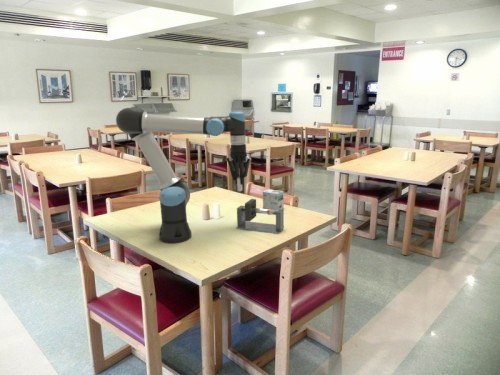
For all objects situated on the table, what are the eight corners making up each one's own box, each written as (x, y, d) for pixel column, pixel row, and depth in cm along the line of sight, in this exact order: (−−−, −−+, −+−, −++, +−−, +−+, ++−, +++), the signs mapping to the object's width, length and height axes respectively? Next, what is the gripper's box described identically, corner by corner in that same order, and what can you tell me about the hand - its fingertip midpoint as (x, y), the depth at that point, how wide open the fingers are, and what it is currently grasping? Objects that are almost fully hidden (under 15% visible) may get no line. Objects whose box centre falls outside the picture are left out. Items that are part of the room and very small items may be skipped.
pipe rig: (235, 228, 188) (234, 208, 185) (243, 222, 197) (242, 203, 194) (279, 233, 179) (279, 213, 177) (284, 227, 188) (285, 207, 186)
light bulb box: (283, 208, 219) (284, 190, 216) (278, 211, 213) (278, 193, 211) (268, 206, 225) (268, 188, 222) (262, 209, 219) (262, 191, 216)
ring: (245, 220, 185) (244, 203, 183) (251, 215, 193) (251, 198, 191) (249, 221, 184) (249, 204, 182) (256, 216, 192) (256, 199, 190)
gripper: (222, 144, 181) (225, 191, 186) (247, 145, 176) (249, 193, 182) (229, 142, 187) (231, 188, 193) (253, 143, 183) (254, 189, 188)
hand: (239, 190), depth 187 cm, fingers closed
